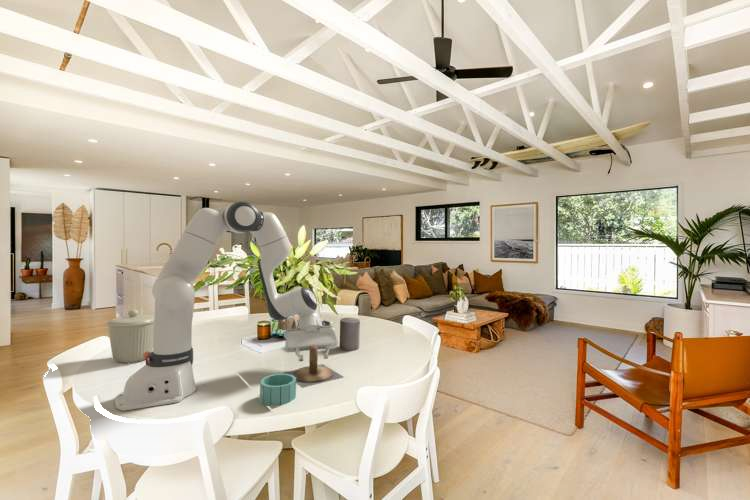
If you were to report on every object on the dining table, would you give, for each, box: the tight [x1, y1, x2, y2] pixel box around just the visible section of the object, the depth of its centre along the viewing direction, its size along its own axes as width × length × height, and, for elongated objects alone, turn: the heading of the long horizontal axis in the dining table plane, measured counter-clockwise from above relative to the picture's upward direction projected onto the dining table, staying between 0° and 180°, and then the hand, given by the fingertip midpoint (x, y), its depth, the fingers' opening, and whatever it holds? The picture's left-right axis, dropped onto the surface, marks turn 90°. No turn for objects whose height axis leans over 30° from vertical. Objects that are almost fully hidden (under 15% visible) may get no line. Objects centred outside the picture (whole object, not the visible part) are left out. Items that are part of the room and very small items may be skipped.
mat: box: [282, 363, 344, 389], centre depth 133 cm, size 17×17×1 cm
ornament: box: [279, 314, 299, 330], centre depth 188 cm, size 15×15×15 cm
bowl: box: [259, 373, 297, 407], centre depth 114 cm, size 11×11×6 cm
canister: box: [106, 309, 154, 364], centre depth 148 cm, size 18×18×21 cm
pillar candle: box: [339, 317, 361, 352], centre depth 170 cm, size 10×10×15 cm
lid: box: [293, 345, 334, 383], centre depth 133 cm, size 15×15×11 cm
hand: (313, 359), depth 133 cm, fingers open, 8 cm apart
